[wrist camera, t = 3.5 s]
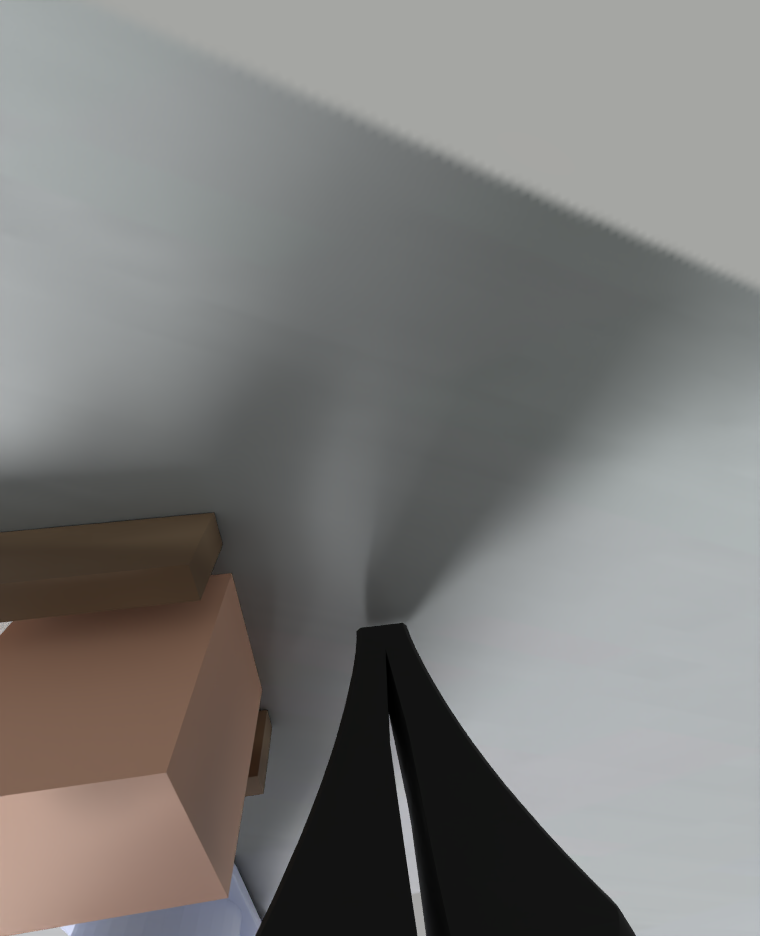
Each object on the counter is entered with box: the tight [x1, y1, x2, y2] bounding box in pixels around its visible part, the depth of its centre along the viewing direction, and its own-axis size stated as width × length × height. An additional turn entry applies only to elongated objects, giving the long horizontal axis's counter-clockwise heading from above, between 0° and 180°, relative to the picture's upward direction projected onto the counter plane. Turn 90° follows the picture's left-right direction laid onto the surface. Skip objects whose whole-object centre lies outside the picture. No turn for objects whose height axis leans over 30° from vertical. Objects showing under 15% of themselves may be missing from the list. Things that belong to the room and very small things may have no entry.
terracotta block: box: [0, 573, 262, 936], centre depth 10 cm, size 5×5×5 cm
